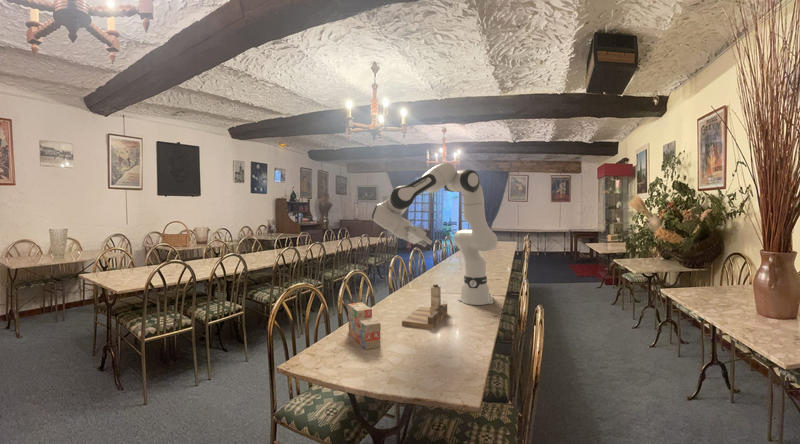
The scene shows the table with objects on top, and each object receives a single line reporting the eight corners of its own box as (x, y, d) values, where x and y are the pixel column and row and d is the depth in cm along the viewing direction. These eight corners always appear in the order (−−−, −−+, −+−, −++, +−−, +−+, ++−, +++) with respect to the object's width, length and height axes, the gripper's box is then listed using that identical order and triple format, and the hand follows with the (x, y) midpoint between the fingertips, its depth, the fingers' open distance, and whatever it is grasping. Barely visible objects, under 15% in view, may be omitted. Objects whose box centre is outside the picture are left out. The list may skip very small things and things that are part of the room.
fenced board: (420, 311, 184) (419, 301, 184) (447, 314, 178) (447, 303, 178) (401, 325, 163) (401, 314, 163) (432, 329, 157) (432, 317, 157)
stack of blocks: (381, 347, 139) (380, 314, 138) (365, 350, 136) (364, 317, 136) (362, 330, 158) (361, 301, 158) (348, 332, 156) (347, 303, 155)
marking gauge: (434, 309, 180) (434, 283, 180) (442, 309, 179) (442, 283, 178) (429, 312, 174) (429, 285, 173) (438, 313, 172) (437, 286, 172)
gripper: (411, 219, 161) (438, 235, 162) (402, 226, 181) (426, 240, 182) (404, 231, 160) (431, 247, 160) (396, 237, 179) (420, 252, 180)
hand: (428, 244), depth 171 cm, fingers open, 8 cm apart
